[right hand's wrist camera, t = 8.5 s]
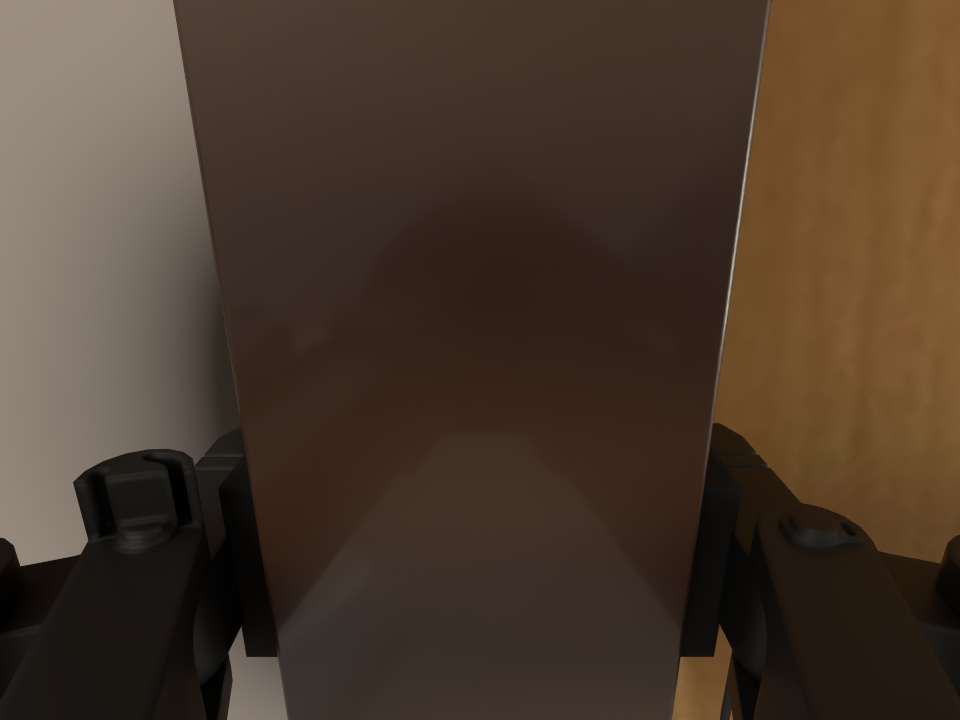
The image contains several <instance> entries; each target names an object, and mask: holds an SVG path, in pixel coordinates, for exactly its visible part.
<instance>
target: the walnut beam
mask: <svg viewBox="0 0 960 720" xmlns="http://www.w3.org/2000/svg"><path fill="white" fill-rule="evenodd" d="M771 1H772V0H173V3H174V9H175V15H176V22H177V28H178V34H179V40H180V47H181V53H182V59H183V66H184V72H185V78H186V84H187V90H188V97H189V103H190V109H191V116H192V122H193V128H194V134H195V141H196V147H197V153H198V159H199V166H200V172H201V178H202V185H203V191H204V197H205V203H206V210H207V216H208V222H209V228H210V235H211V241H212V247H213V253H214V260H215V266H216V272H217V278H218V285H219V291H220V297H221V303H222V310H223V316H224V322H225V329H226V335H227V341H228V347H229V354H230V360H231V366H232V372H233V379H234V385H235V391H236V397H237V404H238V410H239V416H240V422H241V429H242V435H243V441H244V448H245V454H246V460H247V466H248V473H249V479H250V485H251V491H252V498H253V504H254V510H255V516H256V523H257V529H258V535H259V541H260V548H261V554H262V560H263V567H264V573H265V579H266V585H267V592H268V598H269V604H270V610H271V617H272V623H273V629H274V635H275V642H276V648H277V654H278V660H279V667H280V673H281V679H282V686H283V692H284V698H285V704H286V710H287V717H288V720H672V714H673V707H674V699H675V692H676V685H677V678H678V671H679V663H680V656H681V649H682V642H683V635H684V627H685V620H686V613H687V606H688V599H689V591H690V584H691V577H692V570H693V563H694V555H695V548H696V541H697V534H698V527H699V519H700V512H701V505H702V498H703V491H704V483H705V476H706V469H707V462H708V455H709V447H710V440H711V433H712V426H713V419H714V411H715V404H716V397H717V390H718V383H719V375H720V368H721V361H722V354H723V347H724V339H725V332H726V325H727V318H728V311H729V303H730V296H731V289H732V282H733V275H734V267H735V260H736V253H737V246H738V239H739V231H740V224H741V217H742V210H743V203H744V195H745V188H746V181H747V174H748V167H749V159H750V152H751V145H752V138H753V131H754V123H755V116H756V109H757V102H758V95H759V87H760V80H761V73H762V66H763V59H764V51H765V44H766V37H767V30H768V23H769V15H770V8H771Z"/></svg>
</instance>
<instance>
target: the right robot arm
mask: <svg viewBox="0 0 960 720" xmlns="http://www.w3.org/2000/svg"><path fill="white" fill-rule="evenodd" d="M73 484H74V487H75V491H76V495H77V499H78V503H79V506H80V510H81V514H82V518H83V522H84V525H85V529H86V533H87V537H88V542H87V544H86V546H85V548H84V550H83V551H82V553H81V555H77V556H73V557H68V558H62V559H57V560H52V561H47V562H42V563H37V564H31V565H26V566H20V564H19V561H18V558H17V555H16V552H15V548H14V545H12V544H11V543H10V542H8V541H7V540H6V539H4V538H0V720H227V715H228V708H229V702H230V694H231V688H232V681H233V680H232V672H231V665H230V659H229V654H228V652H229V650H230V648H231V646H232V644H233V642H234V640H235V638H236V636H237V634H238V632H239V630H240V628H241V626H242V632H243V638H244V644H245V650H246V655H247V657H278V654H277V648H276V642H275V635H274V629H273V623H272V617H271V610H270V604H269V598H268V592H267V585H266V579H265V573H264V567H263V560H262V554H261V548H260V541H259V535H258V529H257V523H256V516H255V510H254V504H253V498H252V491H251V485H250V479H249V473H248V466H247V460H246V454H245V448H244V441H243V435H242V429H241V426H239V427H238V428H236V429H234V430H233V431H231V432H229V433H227V434H226V435H224V436H222V437H220V438H219V439H218V440H217V441H216V442H215V443H214V444H213V445H212V447H211V448H210V449H209V450H208V451H207V452H206V453H205V457H202V458H201V459H200V460H199V462H198V463H197V464H196V465H195V466H194V464H193V459H192V458H191V457H190V456H188V455H187V454H186V453H184V452H181V451H176V450H171V449H149V450H143V451H138V452H132V453H127V454H123V455H120V456H117V457H114V458H111V459H109V460H106V461H103V462H101V463H99V464H97V465H95V466H94V467H92V468H90V469H88V470H86V471H85V472H84V473H82V474H81V475H80V476H79V477H78V478H77V479H76V480H75V481H74V482H73ZM719 624H720V626H721V628H722V630H723V632H724V634H725V636H726V638H727V640H728V642H729V644H730V646H731V648H732V654H731V659H730V665H729V670H728V676H727V681H726V686H725V692H724V697H723V703H722V708H721V716H720V720H729V718H730V713H731V710H732V714H733V720H960V535H957V536H956V537H955V538H953V539H952V540H951V541H949V542H948V544H947V547H946V550H945V553H944V556H943V559H942V563H941V564H940V563H934V562H929V561H924V560H919V559H913V558H908V557H903V556H898V555H892V554H888V553H884V552H880V551H878V550H877V548H876V547H875V545H874V543H873V541H872V540H871V538H870V537H869V536H868V535H867V534H866V533H865V532H864V531H863V529H862V528H861V527H859V526H858V525H856V524H855V523H853V522H852V521H850V520H849V519H847V518H845V517H844V516H842V515H839V514H837V513H834V512H832V511H829V510H827V509H824V508H822V507H817V506H813V505H808V504H804V503H800V501H799V500H798V499H797V498H796V497H795V496H794V495H793V493H792V492H791V491H790V490H789V489H788V488H787V487H786V485H785V484H784V483H783V482H782V481H781V480H780V479H779V478H778V476H777V475H776V474H775V473H774V472H773V471H772V470H771V468H767V464H766V463H765V462H764V460H763V459H762V458H761V457H760V456H759V455H756V451H755V450H754V449H753V448H752V447H751V446H750V445H749V443H748V442H747V441H746V440H745V439H744V438H743V437H742V436H741V435H739V434H737V433H735V432H734V431H732V430H730V429H728V428H727V427H725V426H723V425H721V424H720V423H713V426H712V433H711V440H710V447H709V455H708V462H707V469H706V476H705V483H704V491H703V498H702V505H701V512H700V519H699V527H698V534H697V541H696V548H695V555H694V563H693V570H692V577H691V584H690V591H689V599H688V606H687V613H686V620H685V627H684V635H683V642H682V649H681V656H680V657H714V652H715V646H716V640H717V634H718V629H719Z"/></svg>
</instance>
